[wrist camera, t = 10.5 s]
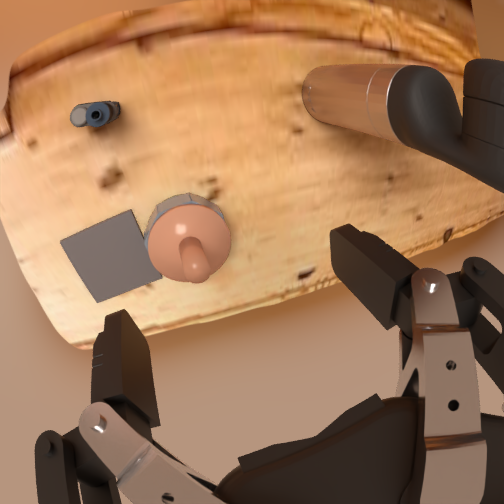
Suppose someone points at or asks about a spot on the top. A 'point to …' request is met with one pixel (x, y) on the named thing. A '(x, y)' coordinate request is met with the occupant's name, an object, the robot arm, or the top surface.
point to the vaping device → (94, 113)
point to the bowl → (172, 203)
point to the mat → (111, 257)
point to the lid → (189, 243)
